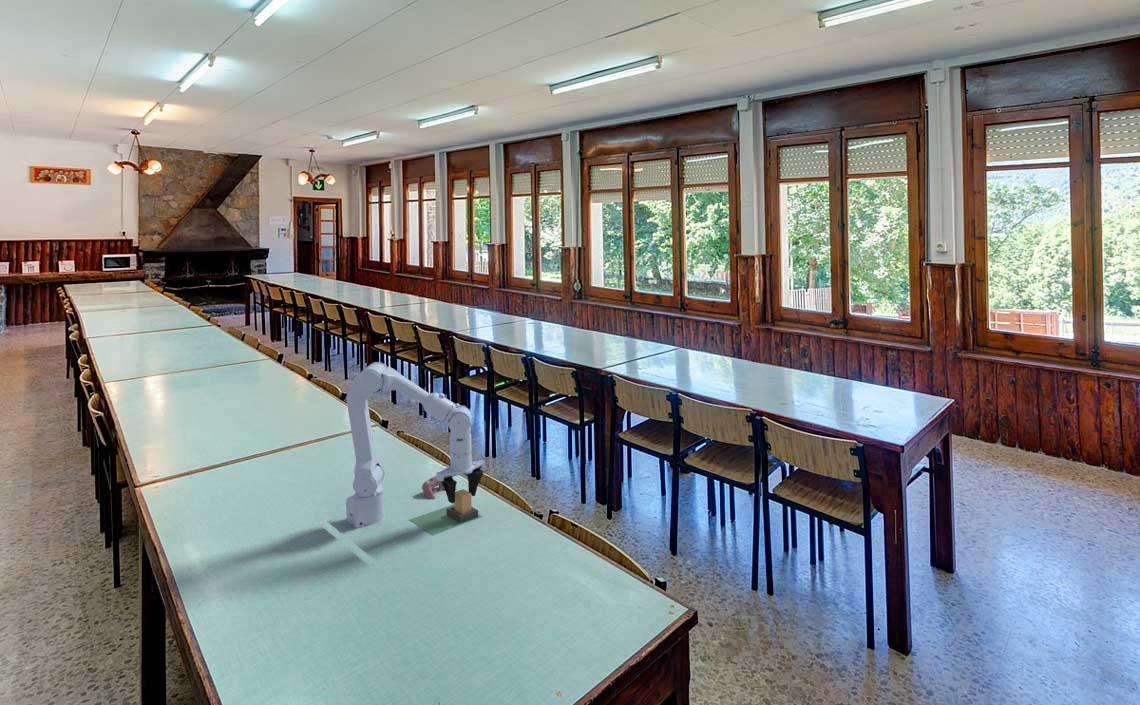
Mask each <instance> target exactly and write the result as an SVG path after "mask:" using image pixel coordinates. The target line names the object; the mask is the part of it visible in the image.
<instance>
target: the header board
mask: <svg viewBox="0 0 1140 705" xmlns="http://www.w3.org/2000/svg"><path fill="white" fill-rule="evenodd" d="M480 518H483V516H482V515H481V514H479V510H478V509H476V508H475V507H473V506H472V511H470V512H468V513H465V514H462V515H461V514H459V513H457V512H456V511H454V503H453V504H450V505H448V506H445V507H442V508H439V509H435V510H434V511H431V512H427V513H424V514H422V515H419V516H416V517H413V518H409V521H410V522H411V523H413V524H414V525H416V526H417V527H419V528H420V529H421V530H424V531H425V532H426V533H427V534H430V535H431V536H434V535H437V534H440V533H443V532H446V531H449V530H451V529H453V528H456V527H459V526H462V525H465V524H466V523H470V522H472V521H474V520H475V521H476V520H478V519H480Z"/></svg>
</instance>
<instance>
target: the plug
mask: <svg viewBox="0 0 1140 705" xmlns="http://www.w3.org/2000/svg"><path fill="white" fill-rule="evenodd" d="M453 504H454V511H456V512H457V513H459V514H461V515H462V514H465V513H468V512H470V511H472V507H473V506H472V495H471V493H469V491H468V490H466V489H464V488H462V489H459V490H455V503H453Z"/></svg>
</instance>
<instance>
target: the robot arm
mask: <svg viewBox="0 0 1140 705" xmlns="http://www.w3.org/2000/svg"><path fill="white" fill-rule="evenodd" d="M381 387H382V392H388V391H396V392H399V393H401V394H403V395H404V396H407V397H408V398H410V399H412V400H414V401H416V402H417V403H420V404H421V405H422V406H423V410H424V411H425V412H426V413H427V414H429V415H430V416H432V417H435V418H436V419H437V420H439V421H441V422H443V423H445V424H447V426H448V428H449V430H450V434H449V445H450V446H449V448H450V449H449V450H450V454H449V456H450V457H449V458H450V466H448V467H446V468H444V469H443V470H441V471H438V472H436V476H437V480H439V481H440V482H441V483H442V485H443V487H444V489H445V490H444V491H445V494H446V497H447V500H448V502H449V503H451V505H453V504H454V503H455V492H456V490H455V488H456V489H457V483H458V482H457V481H456V480H454V477H456V476H460V475H463V474H466V477H467V482H468V483H467V484H468V485H467V486H468V492H469V493H471V497H475V496H476V494H477V490H478V486H479V483H480V481H481V479H482V477H483V476H484V470H483V469H485V468H486V461H484V460H482V459H478V460H472V459H473V455H472V452H473V451H472V450H473V449H472V448H473V447H472V444H473V443H472V434H471V433H472V428H471V423H472V418H473V417H472V412H471V411H470V409H469V408H467V406H466V405H460V404H459V402H457V403H455V402H453V401H451V400H450V399H448V398H447V397H445V396H446V395H445V394H444V393H443V392H440V393H438V392H437V391H436V392H431V393H429V392H428V391H426V390H425V389H423V388H422V387H420V386H418V385H417V384H416V383H414V382H413V381H411V379H408V378H407V377H406V376H404V375H402V374H401V373H400V372H398V371H397V370H396V369H395V368H392V367H391V366H387V365H386V364H385V363H383V362H379V361H375V362H371V364H369V365H368V366H367V367H366V368H365V369H362V370H361V371H360V372H359V373H358V374H357V375H356V376H355V377H353V382H352V384H351V386H350V387H349V390H348V391H347V394H346V399H345V400H346V406H347V410H348V418H349V424H350V431H351V435H352V442H353V449H354V454H355V455H354V456H355V466H354V471H353V473H354V479H353V482H352V488H353V491H354V492H355V493H354V494H353V495H351V496H348V497H347V498H346V500H345V507H346V521H347V522H348V523H349V524H351V525H352V526H353V527H354V528H355V529H359V528H362V527H365V526H369V525H374V524H377V523H379V522H382V521H383V520H384V519H385V516H386V515H385V497H384V495H385V494H384V486H383V485H382V481H383V479H384V478H385V470H384V468H383V466H382V464H381V462H380V458H379V456H378V455H376V448H375V441H374V435H373V429H372V423H371V417H370V410H369V401H368V399H369V398H370V397H371V396H372V394H375V393H376V392H378V391H379V390H380V389H381ZM481 469H482V470H481Z"/></svg>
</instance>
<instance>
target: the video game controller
mask: <svg viewBox="0 0 1140 705" xmlns="http://www.w3.org/2000/svg"><path fill="white" fill-rule="evenodd" d="M436 487H437V489H436ZM421 490H422V491H423V493H424V494H425V496H426V498H428V499H431V500H435V499H436V496H435V494H438V492H442V491H445V489H444V487H443V485H442V483H441V482H440V481H439V480H437V475H435V476H433V477H430V478H428V479H427V480H426V481H425V482H424V483H422V485H421ZM455 491H458V490H457V487H456V488H455Z"/></svg>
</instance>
